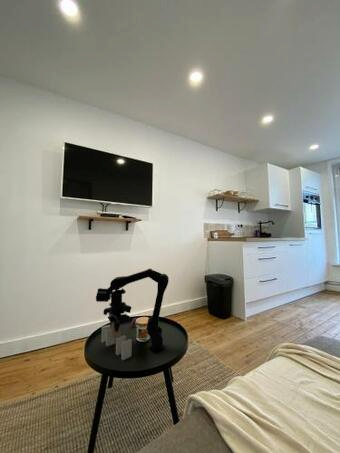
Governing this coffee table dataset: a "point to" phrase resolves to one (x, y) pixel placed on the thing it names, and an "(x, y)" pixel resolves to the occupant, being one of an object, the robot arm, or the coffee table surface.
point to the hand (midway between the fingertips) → (115, 331)
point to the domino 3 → (114, 333)
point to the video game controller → (133, 323)
